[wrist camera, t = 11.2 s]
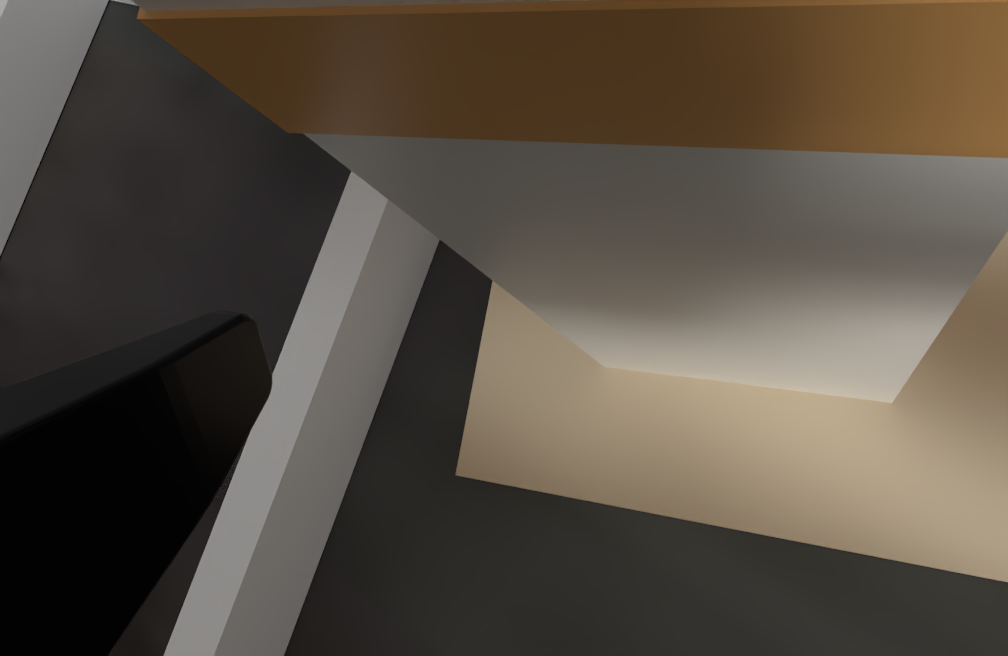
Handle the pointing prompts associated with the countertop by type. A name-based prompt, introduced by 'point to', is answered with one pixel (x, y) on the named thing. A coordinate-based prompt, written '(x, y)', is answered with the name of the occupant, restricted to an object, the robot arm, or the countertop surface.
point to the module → (664, 160)
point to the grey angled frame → (296, 378)
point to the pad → (763, 440)
